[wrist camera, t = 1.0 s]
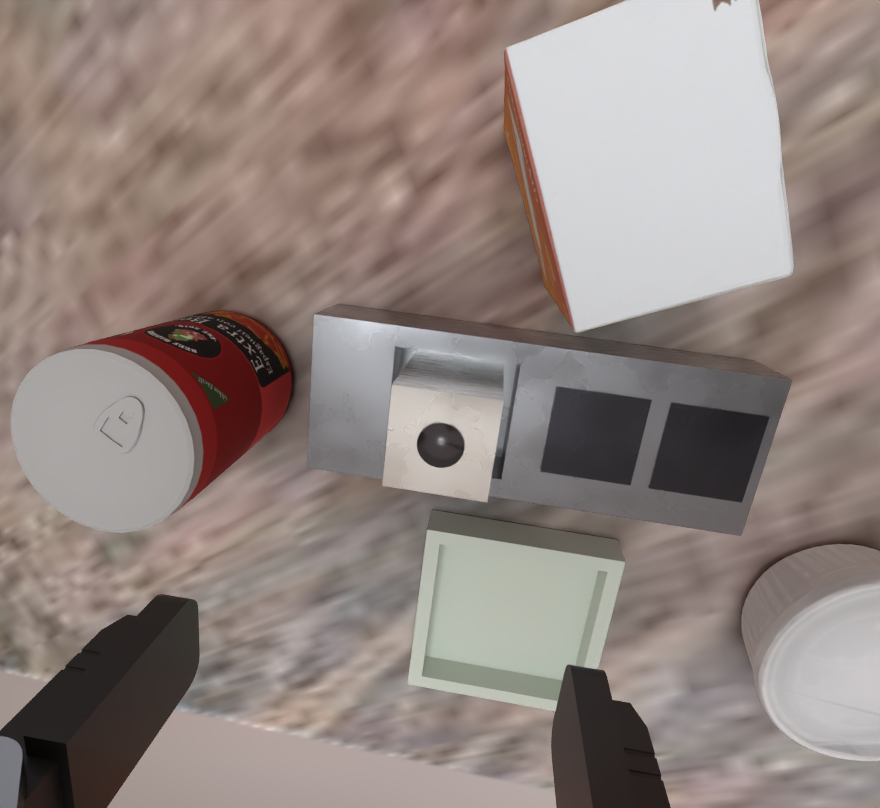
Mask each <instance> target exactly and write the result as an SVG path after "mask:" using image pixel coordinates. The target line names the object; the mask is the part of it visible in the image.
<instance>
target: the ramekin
mask: <svg viewBox="0 0 880 808" xmlns="http://www.w3.org/2000/svg"><path fill="white" fill-rule="evenodd" d="M741 623H742V626H741V629H742V634H743V640H744V643H745V647H746V650H747V653H748V656H749V660H750V663H751V666H752V669H753V680H754V685H755V689H756V693H757V695H758V698H759V700H760V702H761V704H762V706H763V708H764V710H765V711H766V713H767V714H768V716H769V717H770V719H771V720H772V722H773V723H774V724H775V725H776V726H777V727H778V728H779V729H780V730H781V731H782V732H783V733H784V734H785V735H786V736H788V737H789V738H791V739H792V740H793V741H795V742H797V743H798V744H800V745H802V746H804V747H806V748H808V749H810V750H813V751H815V752H818V753H821V754H824V755H827V756H831V757H835V758H841V759H847V760H856V761H880V551H879V550H876V549H872V548H868V547H865V546H859V545H853V544H834V545H823V546H819V547H813V548H809V549H806V550H802V551H799V552H797V553H794V554H792V555H790V556H787V557H785V558H784V559H782V560H780V561H778V562H777V563H775V564H774V565H773V566H771V567H770V568H769V569H768V570H766V571H765V572H764V573H763V574H762V575H761V576H760V578H759V579H758V580H757V581H756V582H755V584H754V585H753V587H752V588H751V590H750V591H749V594H748V596H747V598H746V600H745V603H744V607H743V609H742V617H741Z"/></svg>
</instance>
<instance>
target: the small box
mask: <svg viewBox="0 0 880 808" xmlns="http://www.w3.org/2000/svg"><path fill="white" fill-rule="evenodd" d="M504 59H505V94H504V134H505V137H506V141H507V144H508V147H509V150H510V153H511V157H512V160H513V164H514V168H515V171H516V175H517V179H518V183H519V187H520V190H521V194H522V198H523V202H524V205H525V209H526V213H527V217H528V221H529V225H530V229H531V233H532V237H533V241H534V245H535V249H536V253H537V257H538V261H539V265H540V269H541V273H542V278H543V282H544V286H545V288H546V290H547V291H548V293H549V294H550V295H551V297H552V298H553V300H554V301H555V303H556V304H557V306H558V307H559V309H560V310H561V312H562V313H563V315H564V316H565V318H566V319H567V321H568V322H569V324H570V325H571V327H572V329H573V331H574V332H578V333H579V332H583V331H587V330H590V329H594V328H598V327H602V326H605V325H609V324H613V323H616V322H620V321H624V320H628V319H632V318H635V317H639V316H643V315H647V314H651V313H654V312H658V311H662V310H666V309H669V308H673V307H677V306H681V305H684V304H688V303H692V302H696V301H699V300H703V299H707V298H711V297H714V296H718V295H722V294H726V293H730V292H733V291H737V290H741V289H745V288H749V287H753V286H756V285H760V284H764V283H768V282H772V281H775V280H779V279H783V278H786V277H789V276H791V274H792V272H793V270H794V260H793V250H792V240H791V232H790V223H789V214H788V205H787V198H786V190H785V182H784V173H783V165H782V153H781V137H780V125H779V117H778V110H777V104H776V98H775V92H774V86H773V80H772V77H771V73H770V68H769V63H768V58H767V51H766V44H765V38H764V32H763V24H762V16H761V10H760V5H759V0H626V1H624V2H621V3H619V4H616V5H614V6H611V7H609V8H606V9H604V10H601V11H599V12H596V13H594V14H591V15H589V16H587V17H584V18H581V19H579V20H576V21H574V22H571V23H568V24H566V25H563V26H561V27H558V28H555V29H553V30H550V31H548V32H545V33H543V34H540V35H538V36H536V37H533V38H531V39H528V40H525V41H523V42H520V43H517V44H514V45H512V46H509V47H507V48H506V49H505V51H504Z"/></svg>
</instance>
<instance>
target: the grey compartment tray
mask: <svg viewBox="0 0 880 808" xmlns="http://www.w3.org/2000/svg"><path fill="white" fill-rule="evenodd" d="M417 350H421V351H428V352H435V353H442V354H450V355H457V356H464V357H471V358H478V359H485V360H492V361H499V362H504V403H503V409H502V415H501V421H500V427H499V434H498V440H497V446H496V452H495V458H494V464H493V471H492V477H491V483H490V489H489V495H488V496H491V497H498V498H504V499H510V500H517V501H523V502H529V503H536V504H542V505H548V506H555V507H561V508H567V509H574V510H580V511H586V512H593V513H599V514H605V515H612V516H618V517H624V518H631V519H637V520H643V521H650V522H656V523H662V524H669V525H675V526H681V527H688V528H694V529H700V530H707V531H713V532H719V533H726V534H732V535H738V536H741V535H742V532H743V529H744V526H745V523H746V519H747V516H748V513H749V510H750V507H751V504H752V501H753V498H754V495H755V492H756V489H757V486H758V483H759V480H760V477H761V474H762V471H763V468H764V465H765V462H766V459H767V456H768V453H769V450H770V447H771V444H772V441H773V438H774V434H775V431H776V428H777V425H778V422H779V419H780V416H781V413H782V410H783V407H784V404H785V401H786V398H787V395H788V392H789V389H790V386H791V383H792V380H791V379H789V378H787V377H785V376H783V375H781V374H779V373H777V372H775V371H774V370H772V369H770V368H768V367H766V366H764V365H762V364H760V363H758V362H756V361H754V360H747V359H740V358H732V357H725V356H718V355H710V354H703V353H696V352H688V351H681V350H674V349H666V348H659V347H652V346H644V345H637V344H630V343H622V342H615V341H608V340H600V339H593V338H586V337H578V336H571V335H564V334H556V333H549V332H542V331H534V330H527V329H520V328H512V327H505V326H498V325H490V324H483V323H476V322H468V321H461V320H454V319H446V318H439V317H432V316H424V315H417V314H410V313H402V312H395V311H388V310H380V309H373V308H366V307H358V306H351V305H344V304H337V305H334V306H332V307H330V308H327V309H325V310H323V311H320V312H318V313H316V314H314V328H313V349H312V370H311V391H310V413H309V434H308V455H307V467H308V468H314V469H320V470H327V471H333V472H339V473H346V474H352V475H358V476H365V477H371V478H377V479H383V473H384V462H385V452H386V441H387V430H388V420H389V409H390V399H391V388H392V384H393V382H394V381H395V380H396V378H397V377H398V376H399V374H400V373H401V371H402V370H403V369H404V367H405V366H406V365H407V363H408V362H409V361H410V359H411V358H412V357H413V355H414V354H415V352H416V351H417Z"/></svg>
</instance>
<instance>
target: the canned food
mask: <svg viewBox="0 0 880 808" xmlns="http://www.w3.org/2000/svg"><path fill="white" fill-rule="evenodd" d="M291 388H292V371H291V367H290V363H289V359H288V357H287V355H286V353H285V350H284V348H283V347H282V345H281V344H280V342H279V341H278V339H277V338H276V337H275V336H274V335H273V334H272V333H271V332H270V331H269V330H268V329H267V328H266V327H264V326H263V325H261V324H260V323H258V322H257V321H255V320H253V319H250V318H248V317H246V316H243V315H240V314H237V313H232V312H227V311H210V312H205V313H201V314H197V315H193V316H189V317H185V318H181V319H177V320H173V321H169V322H166V323H162V324H158V325H154V326H150V327H146V328H142V329H138V330H135V331H131V332H127V333H123V334H119V335H115V336H111V337H107V338H104V339H100V340H96V341H92V342H88V343H86V344H83V345H79V346H75V347H71V348H68V349H66V350H64V351H62V352H59V353H57V354H55V355H53V356H51V357H49V358H47V359H44V360H43V361H41V362H40V363H39V364H38V365H37V366H35V367H34V368H33V369H32V370H31V371H30V372H29V373H28V374H27V376H26V377H25V378H24V380H23V381H22V382H21V384H20V386H19V388H18V391H17V393H16V395H15V398H14V401H13V406H12V412H11V436H12V440H13V445H14V449H15V453H16V455H17V458H18V460H19V463H20V465H21V468H22V470H23V471H24V473H25V475H26V476H27V478H28V479H29V481H30V483H31V484H32V486H33V487H34V488H35V489H36V490H37V491H38V493H39V494H40V495H41V496H42V497H43V498H44V500H46V501H47V502H48V503H49V504H50V505H51V506H53V507H54V508H55V509H56V510H57V511H59V512H60V513H62V514H63V515H65V516H67V517H68V518H70V519H72V520H73V521H75V522H78V523H80V524H82V525H85V526H87V527H90V528H93V529H97V530H102V531H106V532H122V533H125V532H132V531H139V530H143V529H145V528H148V527H151V526H153V525H156V524H157V523H159V522H160V521H162V520H164V519H166V518H167V517H169V516H170V515H172V514H173V513H175V512H176V511H178V510H179V509H180V508H181V507H182V506H184V505H185V504H186V503H187V502H188V501H190V500H191V499H193V498H194V497H195V496H196V495H197V494H198V493H200V492H201V491H202V490H203V489H204V488H205V487H206V486H208V485H209V484H210V483H211V482H212V481H213V480H215V479H216V478H217V477H218V476H219V475H220V474H221V473H223V472H224V471H225V470H226V469H227V468H228V467H230V466H231V465H232V464H233V463H234V462H235V461H236V460H238V459H239V458H240V457H241V456H242V455H243V454H245V453H246V452H247V451H248V450H249V449H250V448H251V447H253V446H254V445H255V444H256V443H257V442H258V441H260V440H261V439H262V438H263V437H264V436H265V435H266V434H268V433H269V432H270V431H271V430H272V429H273V428H274V427H275V426H276V425H277V424H278V423H279V421H280V419H281V418H282V416H283V415H284V413H285V411H286V408H287V405H288V402H289V399H290V395H291Z"/></svg>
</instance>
